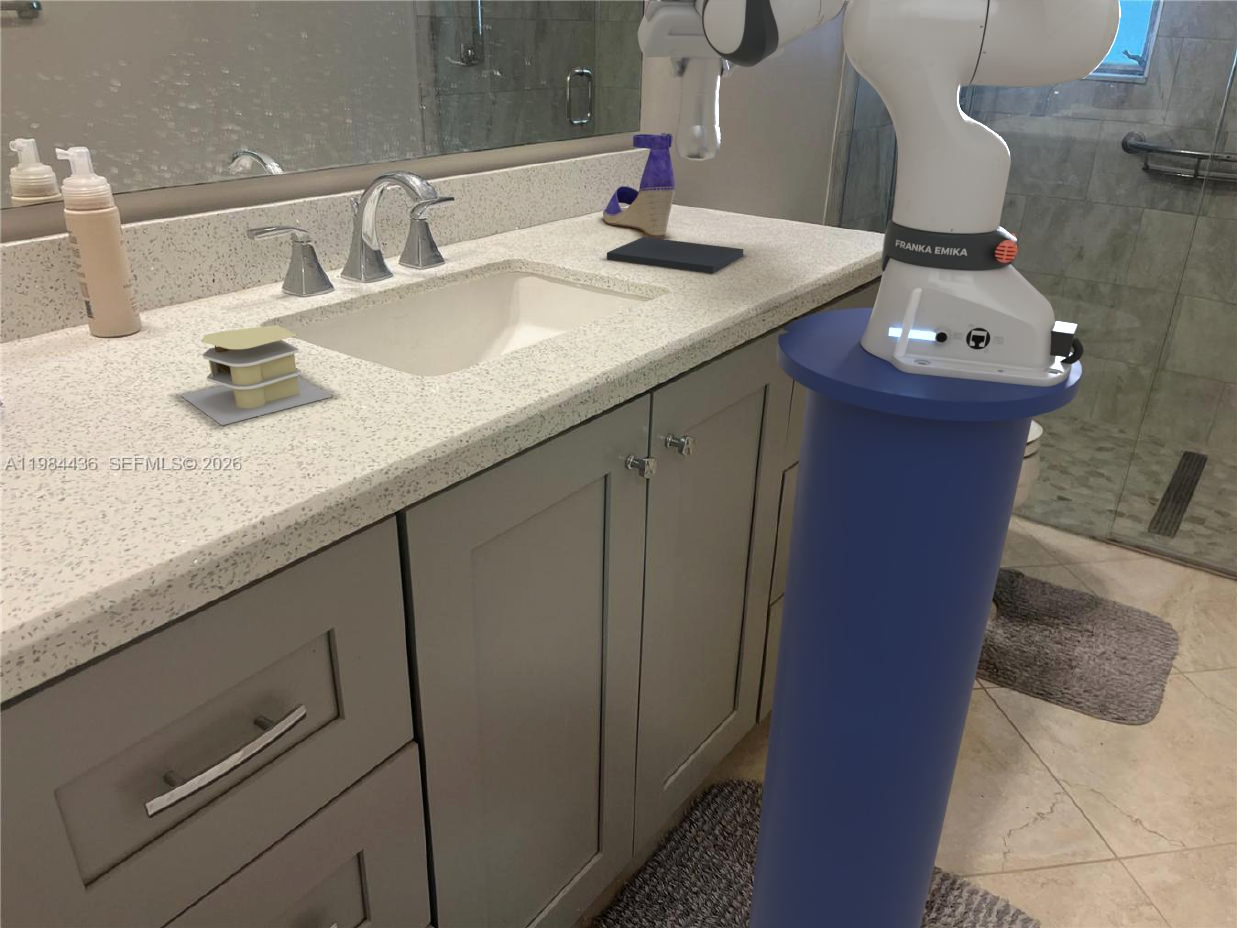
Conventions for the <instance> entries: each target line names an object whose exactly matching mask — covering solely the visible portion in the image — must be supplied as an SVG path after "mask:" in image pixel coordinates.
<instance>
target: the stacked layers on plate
mask: <svg viewBox="0 0 1237 928" xmlns="http://www.w3.org/2000/svg"><path fill="white" fill-rule="evenodd" d="M296 336H297V334H296V333H294V332H292V331H290V330H288V329H286V328H284V327H283V326H280V325H278V324H275V325H267V326H266V325H265V326H257V327H249V328H241V329H231V330H223V331H217V332H212V333H207V334H205V335H204V336H203V337H202V338H201V339H200V340H199V341H200V342H201V343H205V344H209V345H212V346H214V347H210V348H208V349H207V350H206V351H205V352H204V353H203V354H202V358H203V359H204V360H207V361H208V365H209V369H210V373H209V374H208V375H207V376H206V380H207V381H208V382H210V383H213V384H216V385H219V386H215V387H211V388H210V387H209V388H207V389H201V390H197V391H193V392H189V393H185V394H181V395H180V396H181V397H182V398H183V399H185V401H187V402H188V403H191V404H192V405H193V406H195V408H197V409H199V411H201V412H203V413H204V414H205V415H206V416H208V417H210V418H211V419H213V420H214V421H215V422H217V423H218V424H219V425H221V426H225V425H228V424H229V425H230V424H233V423H237V422H240V421H244V420H248V419H253V418H256V417H259V416H263V415H267V414H272V413H275V412H278V411H282V410H286V409H291V408H294V407H298V406H302V405H306V404H309V403H314V402H317V401H321V400H326V399H328V398H332V397H334V396H333V395H331V394H329V393H327V392H326V391H324V390H323V389H320V388H319V387H318V386H315V385H313V384H312V383H310V382H309V381H307V380H305V379H304V378H301V377H299V376H301V375H303V371H302V370H301V369H299V368H297V363H296V357H295V354H298V353H300V348H298V347H296V346H294V345H292V344H290V343H289V342H287V341H285V340H286V339H289V338H293V337H296Z"/></svg>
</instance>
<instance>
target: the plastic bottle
mask: <svg viewBox="0 0 1237 928" xmlns="http://www.w3.org/2000/svg"><path fill="white" fill-rule="evenodd" d="M723 60H724V58H692V57H681V60H680V61H681V63H682V65H683V67H684V69H685V70H684V73H683V74H682V75H683V76H682V77H680V89H681V92H680V105H679V117H678V125H677V127H676V132H675V139H674V144H675V151H676V154H677V155H678V157H680V158H683V159H686V160H689V161H693V162H702V161H706V160H710V159H714V158H716V157H717V155H718V154H719V151H720V146H721V131H720V126H719V95H720V94H719V90H720V84H721V78H720V76H721V71H722V65H723Z"/></svg>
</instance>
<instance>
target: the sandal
mask: <svg viewBox="0 0 1237 928" xmlns="http://www.w3.org/2000/svg"><path fill="white" fill-rule="evenodd" d="M673 140H674V137H673V135H672V134H671V133H665V132H662V133H660V134H651V133H650V134H649V133H648V134H647V133H645V134H644V133H639V134H633V135H632V147H633V148H637V149H638V148H639V149H647V150H648V149H649V153H648V157H647V160H646V163H645V166H644V169H643V172H642V175H641V177H640V183H639V190H637V189H635V188H633V187H630V186H626V185H621V186H618V187H617V188H616V190H615V191H614V193H613V194H612V196H611V198H610V200H609V202H608V204H607V205H606V206H605V208H604V210H603V211H602V218H603V222H604V223H606V224H607V225H612V226H619V227H628V228H633V229H636V230H640V231H641V232H644V235H645V237H649V238H657V239H666V235H667V230H668V224H669V219H670V213H671V211H672V205H673V201H674V197H675V193H676V182H675V174H674V169H673V163H672V158H671V153H670V148H672V144H673ZM620 204H625V205H628V207H621V206H620Z"/></svg>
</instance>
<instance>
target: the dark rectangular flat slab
mask: <svg viewBox="0 0 1237 928" xmlns="http://www.w3.org/2000/svg"><path fill="white" fill-rule="evenodd" d="M744 251H745V250H744V248H738V247H732V246H731V247H730V246H722V245H713V244H705V243H699V242H698V243H697V242H691V241H690V242H689V241H681V240H672V239H666V238H663V239H657V238H649V237H648V236H642V237H639V238H637V239H635V240H632V241H630V242H628V243H625V244H623V245H621V246H619V247H615V248H614V249H612V250H609V251H607V252H606V260H607V261H608V260H609V261H615V262H623V263H629V264H630V263H631V264H638V265H646V266H652V267H653V266H654V267H660V268H661V267H662V268H667V269H676V270H683V271H691V272H697V273H698V272H699V273H705V274H715V273H716V272H717V271H720V270H721V269H723V268H724V267H726V266H728V265H729V264H732V263H733V262H735V261H737V260H738V259H741V258H742V257H743V256H744Z"/></svg>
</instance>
